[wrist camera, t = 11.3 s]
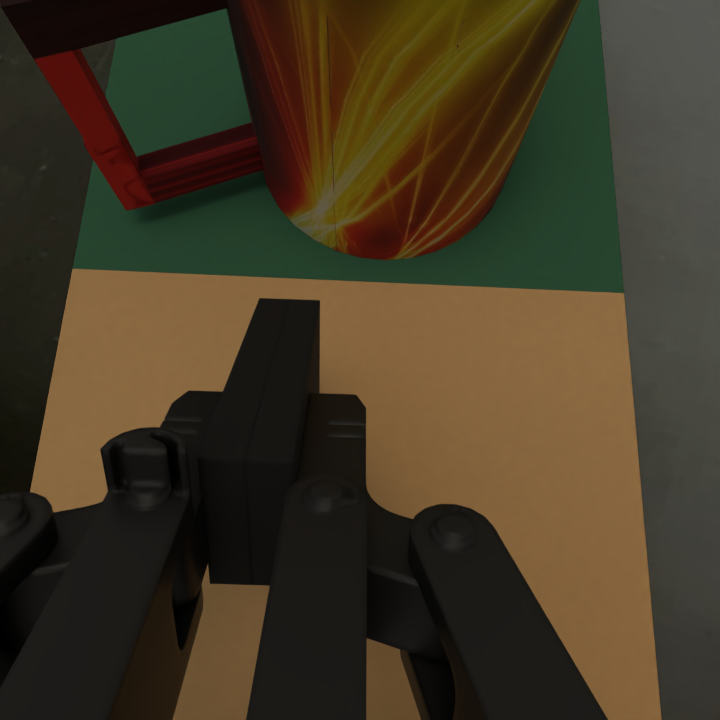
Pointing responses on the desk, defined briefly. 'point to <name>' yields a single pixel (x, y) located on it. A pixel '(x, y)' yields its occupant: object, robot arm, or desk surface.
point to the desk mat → (382, 358)
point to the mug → (331, 107)
